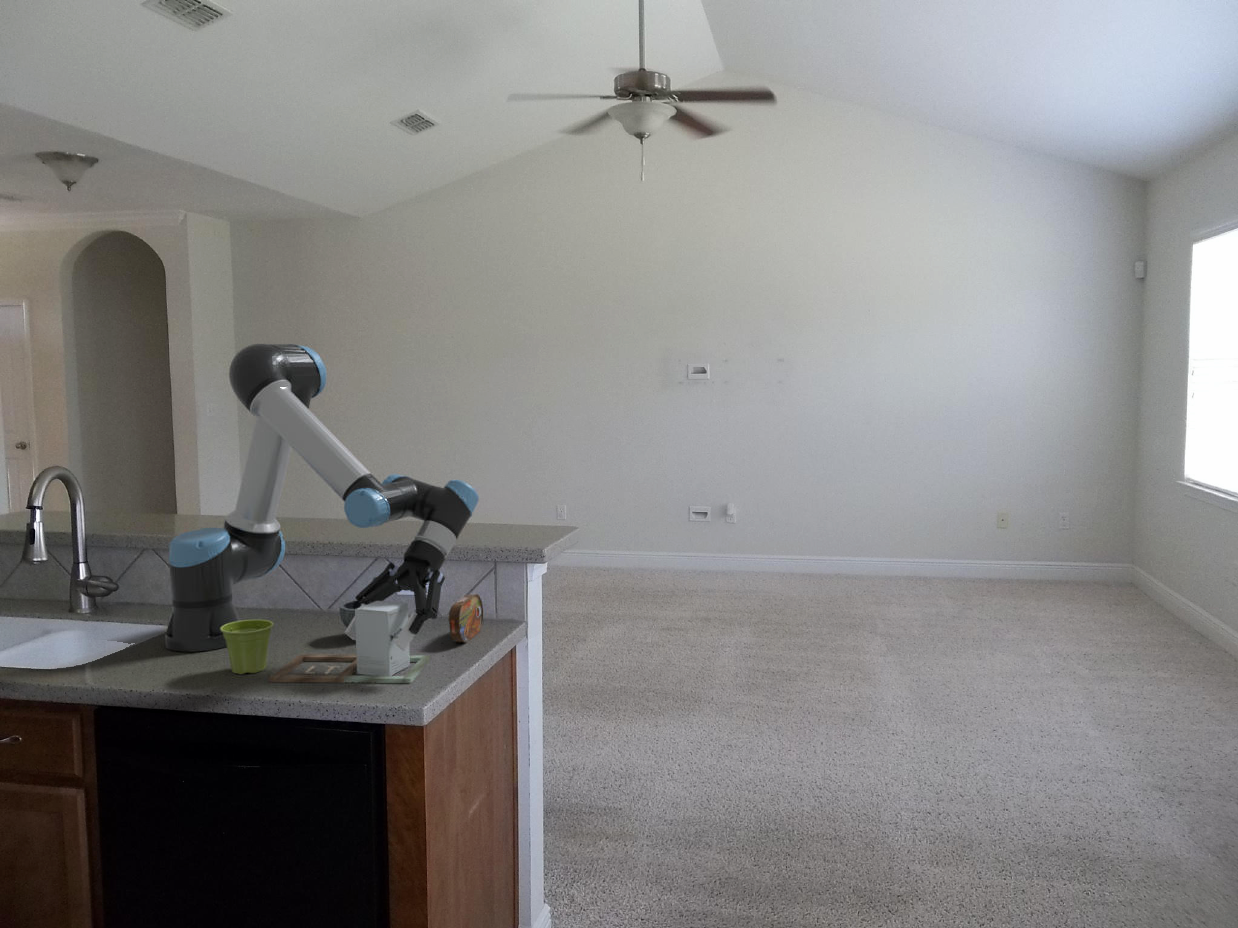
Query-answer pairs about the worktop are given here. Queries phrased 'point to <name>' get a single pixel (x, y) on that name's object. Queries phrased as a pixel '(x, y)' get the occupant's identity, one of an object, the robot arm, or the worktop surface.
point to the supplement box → (380, 638)
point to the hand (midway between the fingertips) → (374, 641)
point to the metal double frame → (346, 674)
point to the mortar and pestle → (349, 610)
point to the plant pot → (247, 644)
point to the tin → (466, 618)
